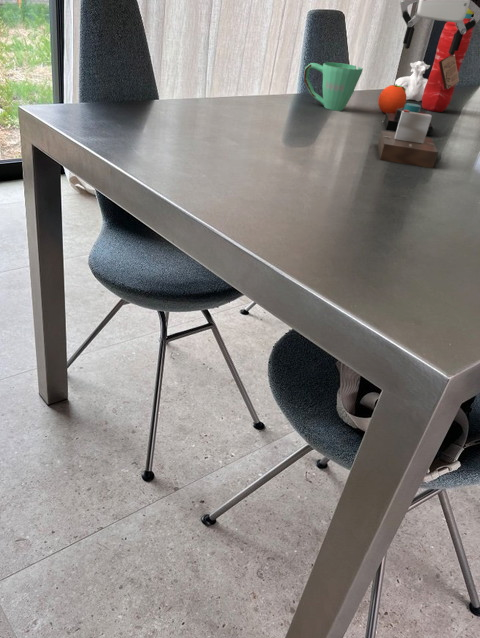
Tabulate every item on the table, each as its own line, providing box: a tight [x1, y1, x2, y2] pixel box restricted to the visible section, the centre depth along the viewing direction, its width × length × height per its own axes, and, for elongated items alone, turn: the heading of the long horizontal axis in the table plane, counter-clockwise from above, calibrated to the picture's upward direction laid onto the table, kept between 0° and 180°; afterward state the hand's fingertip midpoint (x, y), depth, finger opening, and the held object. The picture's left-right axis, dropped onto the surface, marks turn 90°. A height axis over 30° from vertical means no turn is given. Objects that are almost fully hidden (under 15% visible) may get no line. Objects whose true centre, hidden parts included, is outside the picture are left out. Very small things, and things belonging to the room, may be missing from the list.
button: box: [403, 102, 422, 113], centre depth 133 cm, size 4×4×2 cm
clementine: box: [377, 84, 407, 115], centre depth 147 cm, size 8×7×7 cm
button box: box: [383, 107, 434, 138], centre depth 134 cm, size 10×10×4 cm
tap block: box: [377, 130, 439, 169], centre depth 112 cm, size 10×12×3 cm
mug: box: [303, 61, 364, 112], centre depth 145 cm, size 15×10×10 cm
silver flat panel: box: [395, 110, 432, 144], centre depth 110 cm, size 6×2×5 cm, turn 78°
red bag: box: [421, 8, 474, 113], centre depth 152 cm, size 12×8×25 cm, turn 163°
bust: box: [394, 60, 431, 102], centre depth 171 cm, size 12×8×11 cm
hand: (428, 51), depth 125 cm, fingers open, 9 cm apart
